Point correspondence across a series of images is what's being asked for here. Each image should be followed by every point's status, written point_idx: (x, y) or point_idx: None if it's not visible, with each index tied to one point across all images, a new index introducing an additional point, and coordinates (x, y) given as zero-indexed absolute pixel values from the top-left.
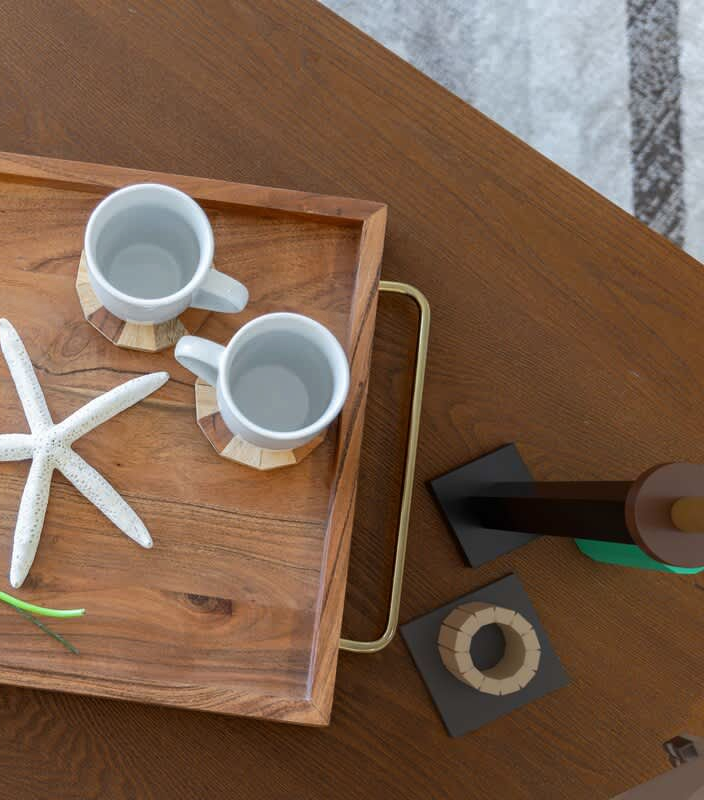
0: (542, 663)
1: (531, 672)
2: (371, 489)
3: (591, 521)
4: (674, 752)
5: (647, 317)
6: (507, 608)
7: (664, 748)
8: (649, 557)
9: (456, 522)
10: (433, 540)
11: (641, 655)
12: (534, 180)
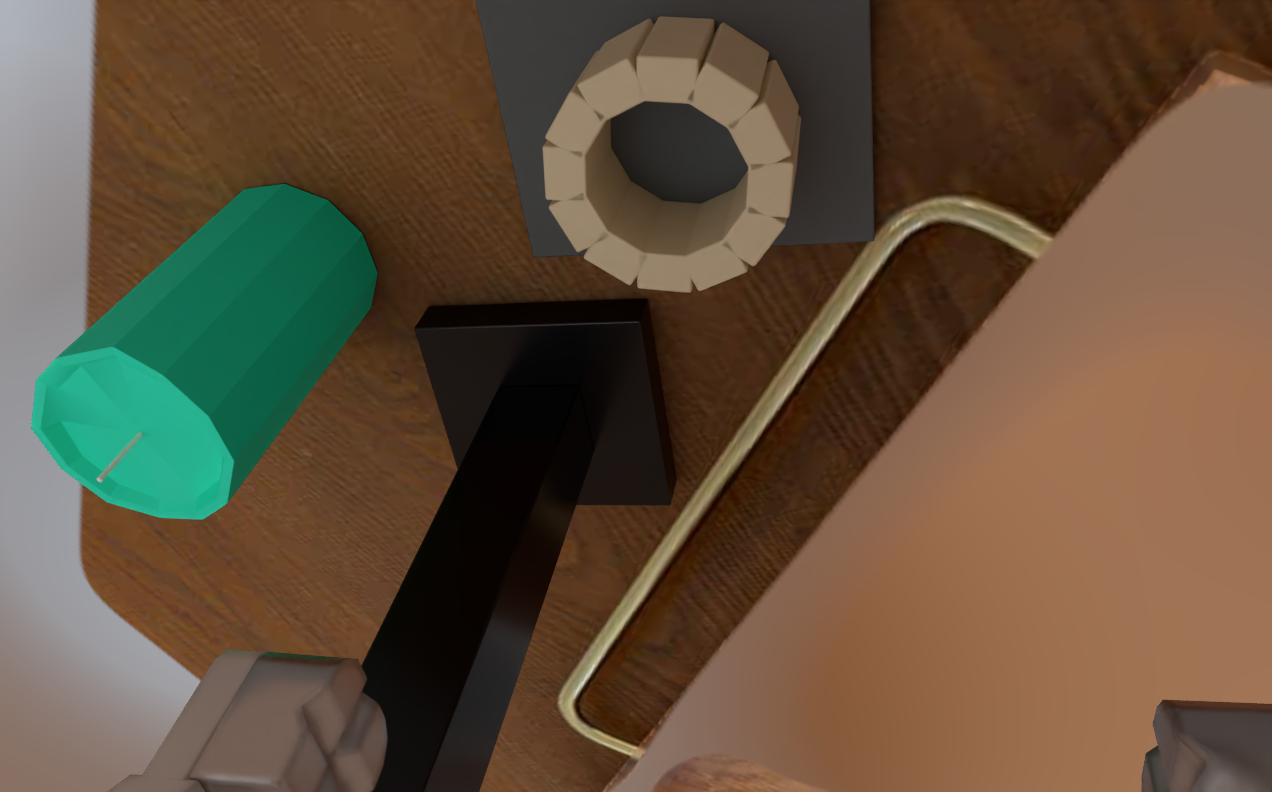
0: (527, 20)
1: (588, 94)
2: (794, 505)
3: None
4: (346, 774)
5: (166, 555)
6: None
7: (380, 724)
8: (230, 405)
9: (643, 420)
10: (700, 373)
11: None
12: None
